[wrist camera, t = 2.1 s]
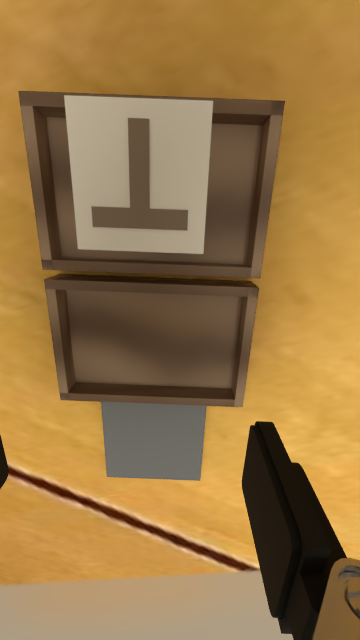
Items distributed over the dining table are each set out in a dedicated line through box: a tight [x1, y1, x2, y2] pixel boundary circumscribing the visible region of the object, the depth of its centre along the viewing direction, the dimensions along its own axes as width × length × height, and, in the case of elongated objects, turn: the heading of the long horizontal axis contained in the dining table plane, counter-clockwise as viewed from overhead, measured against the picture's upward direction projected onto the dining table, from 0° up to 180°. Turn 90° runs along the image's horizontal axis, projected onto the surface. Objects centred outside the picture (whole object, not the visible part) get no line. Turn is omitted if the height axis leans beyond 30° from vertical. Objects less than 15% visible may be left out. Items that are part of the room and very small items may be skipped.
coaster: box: [101, 402, 206, 481], centre depth 22 cm, size 8×8×1 cm
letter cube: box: [64, 95, 213, 254], centre depth 13 cm, size 6×6×6 cm
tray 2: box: [44, 274, 259, 407], centre depth 19 cm, size 9×13×2 cm
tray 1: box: [19, 91, 285, 278], centre depth 15 cm, size 9×13×2 cm
